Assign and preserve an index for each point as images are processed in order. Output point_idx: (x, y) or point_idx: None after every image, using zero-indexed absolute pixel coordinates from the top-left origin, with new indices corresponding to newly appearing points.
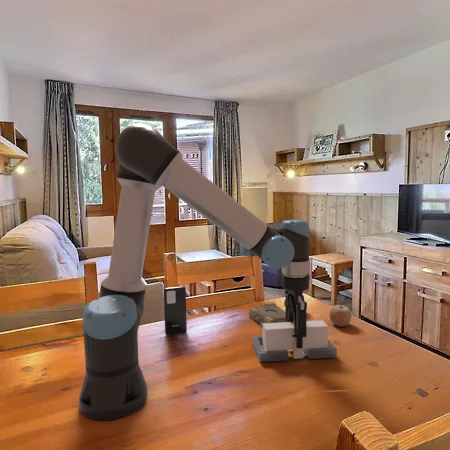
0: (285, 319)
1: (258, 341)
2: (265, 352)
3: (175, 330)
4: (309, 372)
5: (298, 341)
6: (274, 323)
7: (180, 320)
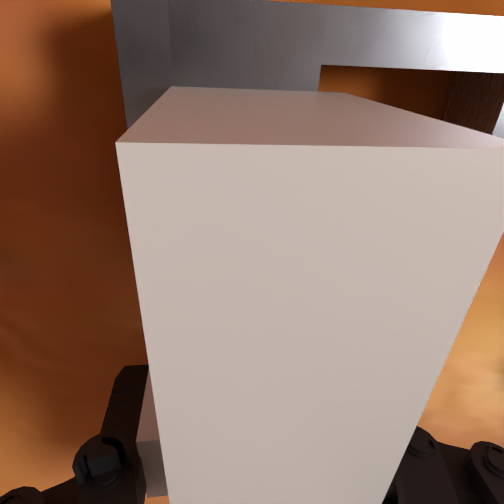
0: (501, 471)
1: (425, 61)
2: (140, 74)
3: None
4: (19, 326)
5: (103, 430)
6: (417, 370)
7: None
